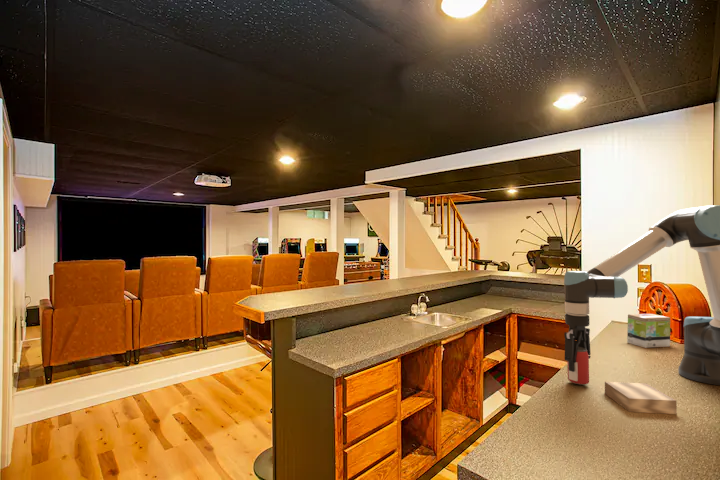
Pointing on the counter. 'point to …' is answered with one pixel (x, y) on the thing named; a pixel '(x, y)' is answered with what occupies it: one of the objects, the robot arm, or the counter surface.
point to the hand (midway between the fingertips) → (578, 377)
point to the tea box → (648, 330)
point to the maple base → (640, 397)
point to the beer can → (581, 367)
